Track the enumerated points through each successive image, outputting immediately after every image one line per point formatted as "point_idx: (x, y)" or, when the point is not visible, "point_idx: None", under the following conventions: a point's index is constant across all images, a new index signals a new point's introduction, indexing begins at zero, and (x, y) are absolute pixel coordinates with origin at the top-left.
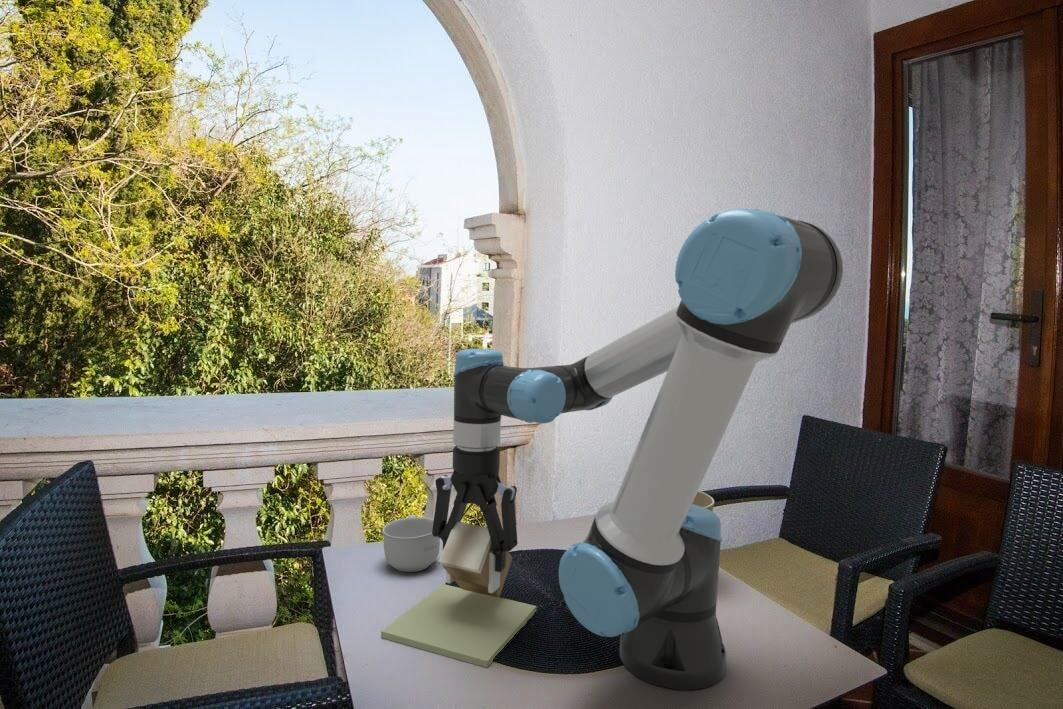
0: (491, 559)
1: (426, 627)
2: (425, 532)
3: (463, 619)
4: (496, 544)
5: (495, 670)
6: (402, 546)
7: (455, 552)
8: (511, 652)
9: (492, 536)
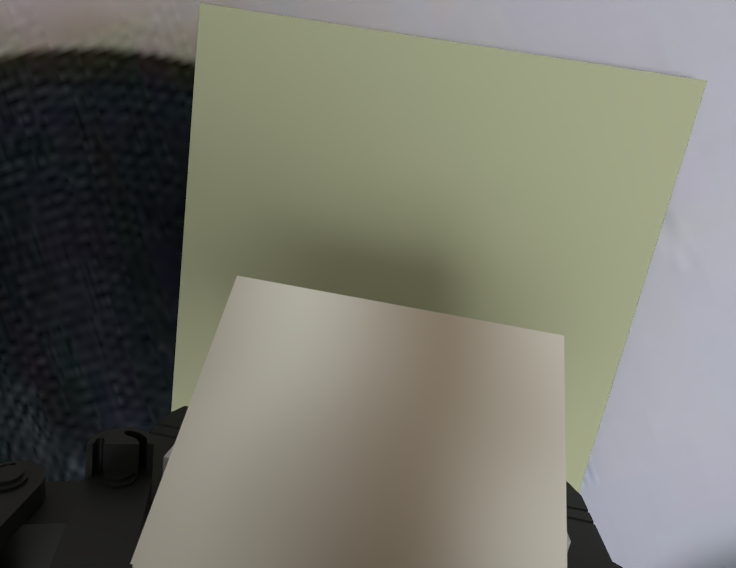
0: None
1: (518, 171)
2: None
3: (392, 274)
4: (101, 506)
5: (178, 6)
6: None
7: (448, 405)
8: (167, 142)
9: (101, 565)
